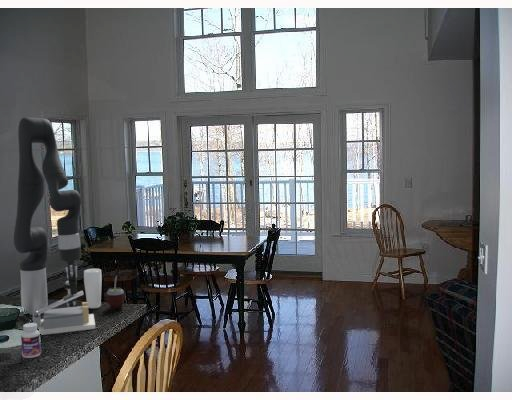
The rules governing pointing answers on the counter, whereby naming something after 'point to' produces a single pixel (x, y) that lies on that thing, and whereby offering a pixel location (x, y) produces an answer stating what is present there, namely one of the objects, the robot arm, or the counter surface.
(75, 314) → the base
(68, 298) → the latch bar
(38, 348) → the pill bottle
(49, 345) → the counter surface
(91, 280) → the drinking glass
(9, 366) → the counter surface
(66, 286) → the push button
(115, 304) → the mate gourd
